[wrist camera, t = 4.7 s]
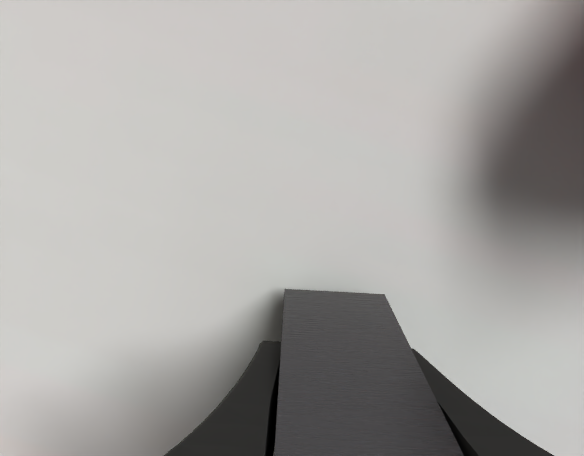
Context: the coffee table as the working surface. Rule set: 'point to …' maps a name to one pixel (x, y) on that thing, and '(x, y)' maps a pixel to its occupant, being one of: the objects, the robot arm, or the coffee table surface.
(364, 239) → the coffee table surface
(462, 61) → the coffee table surface
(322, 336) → the dark grey mallet
